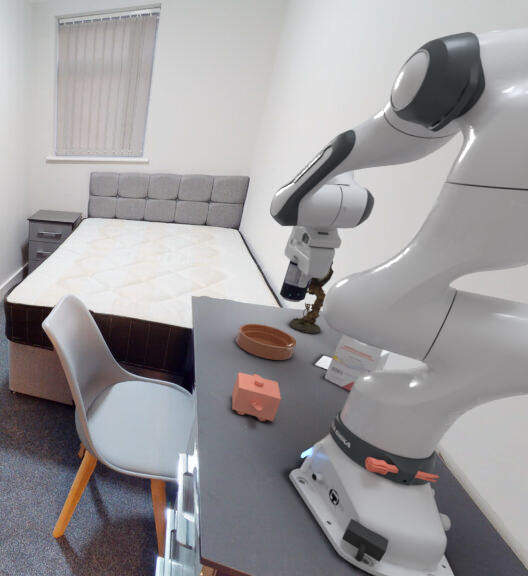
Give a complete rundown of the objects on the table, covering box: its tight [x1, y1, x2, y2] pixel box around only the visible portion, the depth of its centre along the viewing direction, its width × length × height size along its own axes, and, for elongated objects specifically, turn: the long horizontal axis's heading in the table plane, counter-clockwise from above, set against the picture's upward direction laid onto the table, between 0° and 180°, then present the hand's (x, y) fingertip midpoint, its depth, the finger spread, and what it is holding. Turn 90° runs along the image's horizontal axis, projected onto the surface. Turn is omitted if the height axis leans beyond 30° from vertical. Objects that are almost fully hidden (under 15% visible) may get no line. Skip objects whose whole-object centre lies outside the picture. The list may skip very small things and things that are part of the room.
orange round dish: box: [235, 323, 297, 361], centre depth 109 cm, size 14×14×4 cm
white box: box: [314, 355, 333, 370], centre depth 102 cm, size 8×8×1 cm
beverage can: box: [279, 256, 312, 303], centre depth 100 cm, size 6×6×12 cm
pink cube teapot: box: [231, 371, 282, 422], centre depth 83 cm, size 8×12×8 cm, turn 151°
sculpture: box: [288, 260, 334, 335], centre depth 117 cm, size 8×14×25 cm, turn 126°
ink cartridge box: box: [324, 334, 391, 392], centre depth 91 cm, size 9×5×15 cm, turn 25°
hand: (296, 281), depth 100 cm, fingers closed on beverage can, 5 cm apart
